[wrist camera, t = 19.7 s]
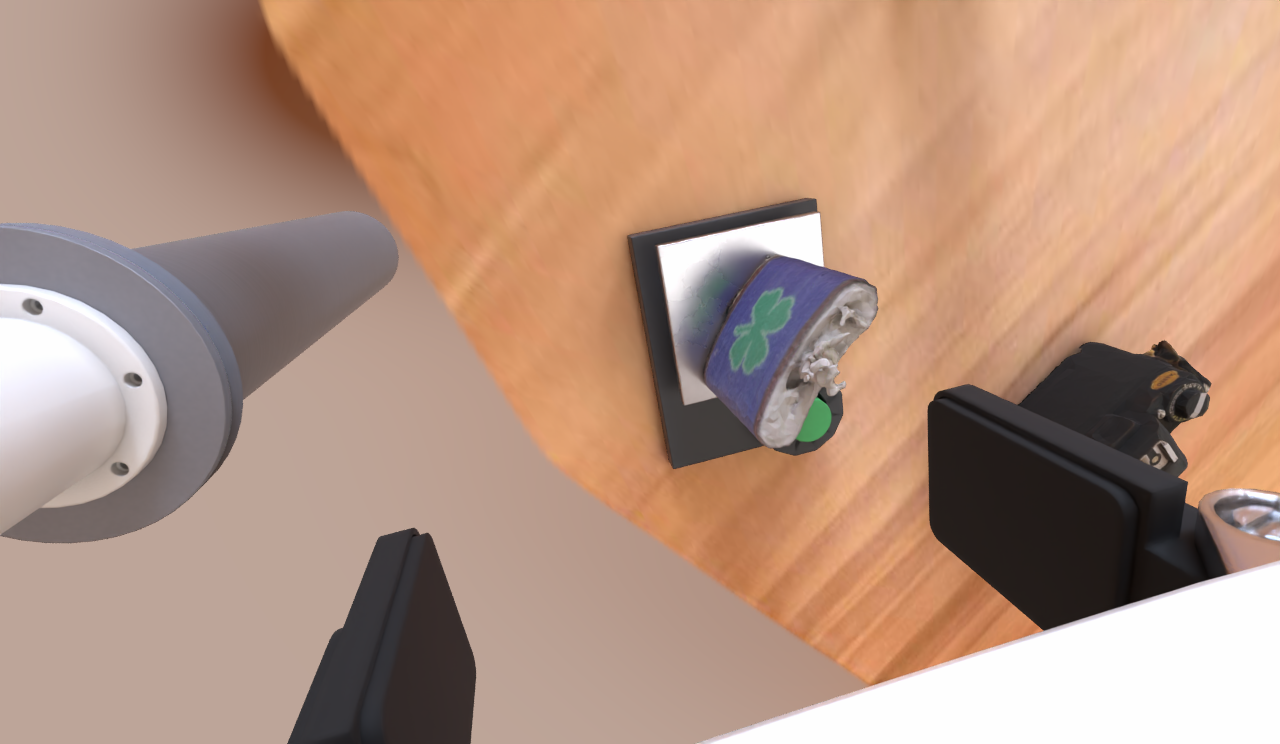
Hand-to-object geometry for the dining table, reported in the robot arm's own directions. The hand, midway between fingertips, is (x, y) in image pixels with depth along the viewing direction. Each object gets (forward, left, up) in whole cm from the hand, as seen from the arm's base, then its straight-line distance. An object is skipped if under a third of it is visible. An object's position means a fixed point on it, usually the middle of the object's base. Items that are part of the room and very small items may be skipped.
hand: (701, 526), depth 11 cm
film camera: (+35, -20, -28) cm, 49 cm away
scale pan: (+10, -3, -25) cm, 27 cm away
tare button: (+13, -12, -26) cm, 31 cm away
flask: (+10, -4, -25) cm, 27 cm away
